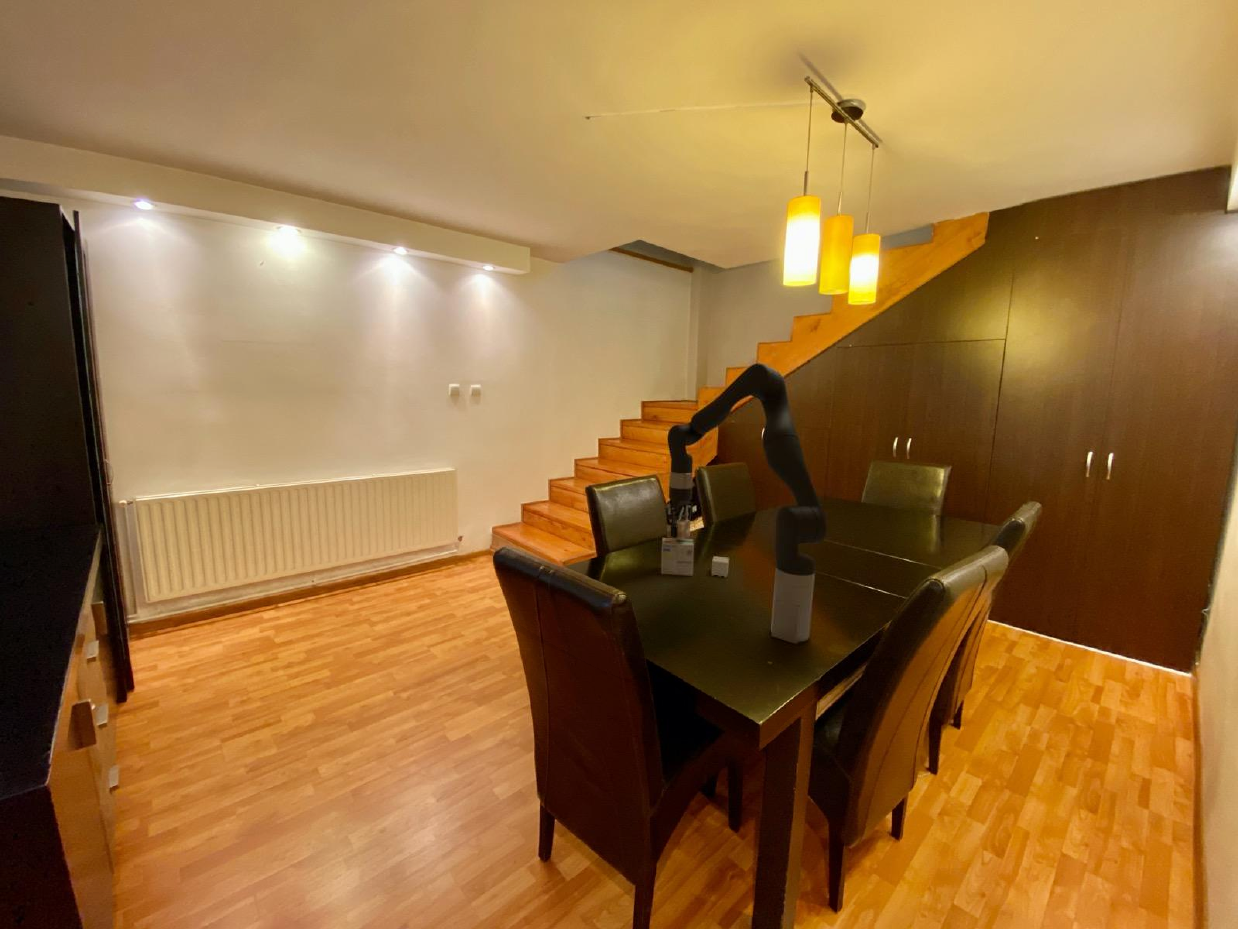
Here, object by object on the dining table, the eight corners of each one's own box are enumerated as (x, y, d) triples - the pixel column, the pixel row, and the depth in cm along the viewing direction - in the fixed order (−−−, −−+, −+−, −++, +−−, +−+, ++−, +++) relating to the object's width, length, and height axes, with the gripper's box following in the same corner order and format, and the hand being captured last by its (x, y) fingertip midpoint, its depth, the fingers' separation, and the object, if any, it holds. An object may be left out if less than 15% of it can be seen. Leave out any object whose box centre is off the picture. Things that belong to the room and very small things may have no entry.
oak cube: (681, 540, 162) (682, 524, 161) (666, 537, 165) (667, 521, 164) (689, 536, 166) (690, 520, 165) (675, 533, 169) (675, 517, 168)
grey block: (726, 577, 164) (727, 562, 163) (711, 575, 165) (712, 561, 164) (727, 572, 168) (728, 558, 167) (713, 570, 170) (713, 556, 169)
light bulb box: (692, 569, 170) (693, 538, 168) (693, 576, 163) (694, 544, 162) (660, 567, 171) (662, 537, 169) (660, 574, 164) (661, 543, 163)
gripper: (679, 490, 155) (677, 542, 157) (701, 483, 166) (698, 532, 169) (659, 487, 159) (657, 538, 162) (681, 481, 171) (679, 528, 173)
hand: (678, 535), depth 165 cm, fingers closed on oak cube, 5 cm apart
